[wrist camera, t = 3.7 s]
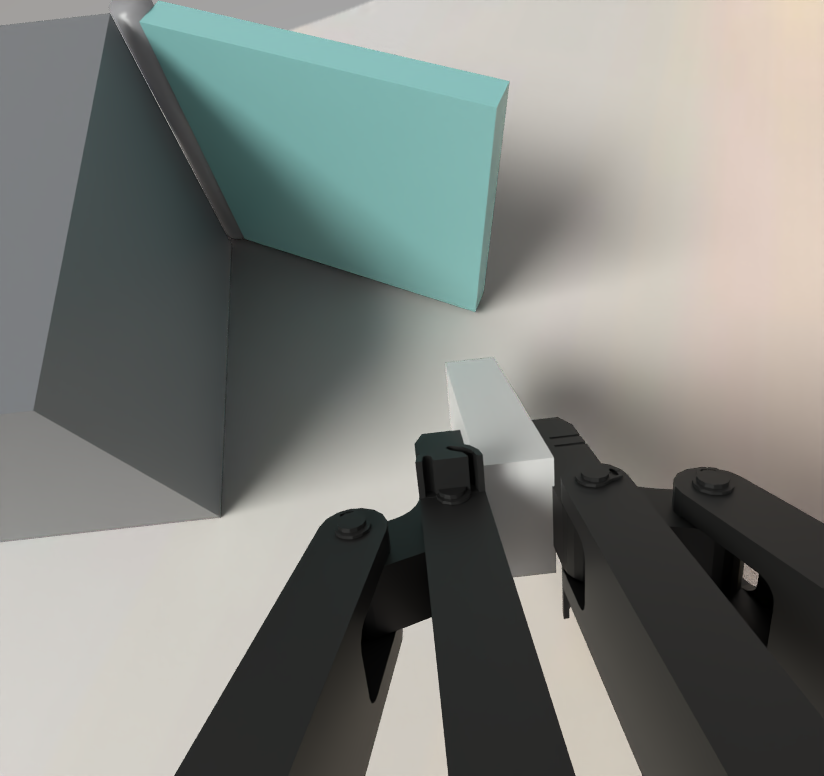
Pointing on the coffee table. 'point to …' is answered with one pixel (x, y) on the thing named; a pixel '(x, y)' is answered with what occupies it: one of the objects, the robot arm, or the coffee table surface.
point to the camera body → (103, 295)
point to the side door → (330, 145)
